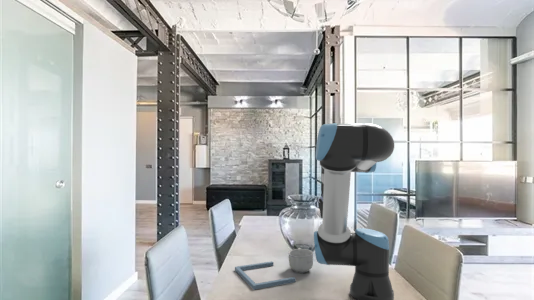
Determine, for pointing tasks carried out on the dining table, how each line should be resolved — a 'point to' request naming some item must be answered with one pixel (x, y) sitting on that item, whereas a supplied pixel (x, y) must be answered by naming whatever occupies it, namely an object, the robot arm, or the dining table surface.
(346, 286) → the dining table surface
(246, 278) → the tray frame
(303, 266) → the teacup
